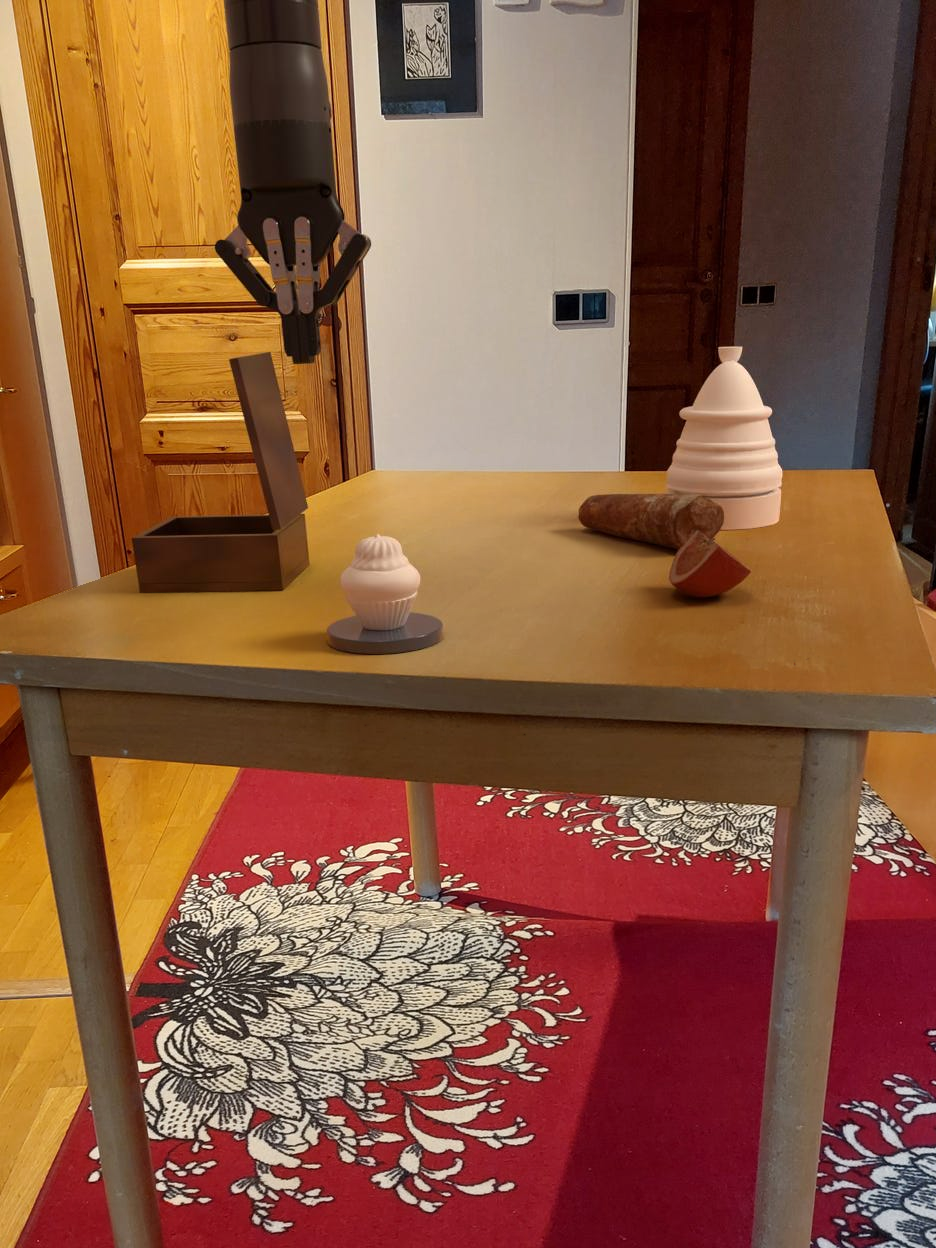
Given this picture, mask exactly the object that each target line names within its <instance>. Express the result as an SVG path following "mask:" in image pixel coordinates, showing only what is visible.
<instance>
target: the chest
mask: <svg viewBox="0 0 936 1248" xmlns="http://www.w3.org/2000/svg"><path fill="white" fill-rule="evenodd" d="M131 545H132V551H133V557H134V565H135V571H136V577H137V582H138V589H139V593H197V592H198V593H200V592H202V593H204V592H205V593H206V592H260V591H259V590H262V591H261V592H263V591H265V590H267V592H268V591H270V592H271V591H284V590H285V589H286V588H287V587H288V586H289V585H290V584H291V583H292V582H293V581H294V580H295V579H296V578H297V577H298V576H299V575H300V574H301V573H303V572H304V571H305V570H306V569H307V567H309V565H310V564H311V563H310V557H309V556H310V552H309V543H308V533H307V522H306V514H305V513H301V514H300V515H298V516H297V517H296V518H295V519H293V520H292V521H291V522H289V523H288V524H287V525H286V526H284V527H283V528H282V529H279V530H274V531H273V530H272V526H271V522H270V518H269V514H268V513H267V514H225V515H224V514H223V515H222V514H221V515H175V516H170V517H168V518H166V519H164V520H162V521H161V522H159V523H156V524H155V525H154V526H151V527H150V528H148V529H146V530H144V531H142V532H140V533H138V534H136V535H135V536H133V537H131ZM265 592H266V591H265Z"/></svg>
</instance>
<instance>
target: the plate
mask: <svg viewBox="0 0 936 1248" xmlns="http://www.w3.org/2000/svg"><path fill="white" fill-rule="evenodd" d="M326 638H327V643H328V645H329V646H330V647H331V648H333V649H335V650H338V651H341V652H346V653H352V654H362V655H388V654H389V655H390V654H401V653H408V652H413V651H418V650H422V649H425V648H429V647H431V646H433V645H435V644H438V643H440V642H441V641H442V639H443V638H444V624H443V621H442V620H441V619H440V618H438V617H436V616H433V615H431V614H425V613H420V612H411V611H410V613H409V615H408V618H407V620H406V622H405V624H404V626H402V627H400V628H397V629H391V630H383V631H382V630H379V631H377V630H369V629H366V628H364V627H363V626H362V624H361V623H360V621H359V619H358V618H357V616H356V615H351V616H348V617H344V618H341V619H338V620H336V621H334V622H332V623H330V624H329V625H328V626H327V628H326Z"/></svg>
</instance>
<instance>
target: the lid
mask: <svg viewBox="0 0 936 1248" xmlns="http://www.w3.org/2000/svg"><path fill="white" fill-rule="evenodd" d="M228 362H229V365H230V370H231V373H232V377H233V381H234V385H235V388H236V389H235V390H236V392H237V396H238V400H239V405H240V408H241V413H242V416H243V420H244V425H245V428H246V431H247V435H248V439H249V443H250V444H249V445H250V447H251V453H252V455H253V459H254V463H255V466H256V471H257V474H258V479H259V482H260V483H259V484H260V486H261V487H260V488H261V491H262V494H263V498H264V502H265V507H266V510H267V514H269V518H270V522H271V526H272V530H273V531H274V530H279V529H282V528H283V527H284V526H286V525H287V524H288V523H289V522H291V521H292V520H293V519H295V518H296V517H297V516H298V515H300V514H303V513H304V512H305V511H307V510H308V509H309V504H308V500H307V496H306V492H305V489H304V485H303V480H302V476H301V472H300V468H299V464H298V460H297V456H296V451H295V447H294V443H293V439H292V435H291V431H290V427H289V423H288V419H287V415H286V410H285V406H284V402H283V398H282V395H281V394H282V393H281V390H280V386H279V383H278V377H277V373H276V369H275V365H274V360H273V356H272V353H271V351H267V352H266V351H265V352H261V353H255V354H249V355H244V356H239V357H234V358H229V359H228Z"/></svg>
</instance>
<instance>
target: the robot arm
mask: <svg viewBox="0 0 936 1248" xmlns="http://www.w3.org/2000/svg"><path fill="white" fill-rule="evenodd" d="M223 8H224V18H225V19H224V20H225V21H224V22H225V28H226V38H227V47H228V49H227V50H228V51H229V52H228V58H229V59H228V61H229V76H228V77H229V79H228V80H229V84H228V85H229V97H230V106H231V116H232V125H233V134H234V143H235V153H236V162H237V171H238V181H239V189H240V190H239V191H240V206H239V210H238V211H237V216H236V219H237V226H235V228H234V229H233V230H232V231H231V232H230V233H229V234H228V235H227V236H226V237H225V238H224V239H219V240H216V242H215V243H214V250H215V254H217V255H218V257H219V258H220V259H221V261H222V262H223V263H224V264H225V265H226V266H227V268H228V269H229V270H230V271H231V272H232V274H233V276H235V277H236V278H237V280H238V281H239V282H240V284H241V285H242V286H243V287H244V288H245V289H246V291H247V292H248V293H249V295H251V298H253V300H255V301H256V303H257V304H258V305H259V306H261V307H265V308H268V309H271V310H274V311H276V312H277V313H278V314H279V316H280V321H281V332H282V341H283V351H284V353H285V355H286V357H290V358H291V360H292V364H293V365H307V364H309V365H310V364H315V362H316V356H320V354H321V351H322V341H321V329H320V319H319V317H320V312H321V311H322V310H323V309H325V308H326V307H328V306H330V305H336V304H338V302H339V301H340V300H341V298H342V296H343V295H344V293H345V291H346V289H347V288H348V286H349V284H350V283H351V281H352V279H353V278H354V276H355V275H356V273H357V271H358V269H359V268H360V266H361V264H362V263H363V261H364V259H365V257H366V256H367V254H368V252H369V251H370V249H371V247H372V240H371V238H370V236H368V235H366V234H364V233H361V232H360V231H358V230H357V229H356V228H354V227H353V226H352V225H351V224H350V223H348V222H347V221H345V220H346V215H345V212H344V209H343V207H342V205H341V204H340V201H339V198H338V195H337V184H336V173H335V171H336V170H335V159H334V146H333V132H332V118H333V117H332V103H331V102H330V95H329V94H330V93H329V85H328V79H327V73H326V68H325V63H324V57H323V56H324V55H323V51H322V48H323V45H322V33H321V21H320V9H319V0H223ZM338 236H339V241H338V245H337V249H338V251H339V253H340V254H341V256H340V257H339V259H338V261H337V262H336V264H335V265H334V268H333V269H332V271H331V272H330V274H329V276H328V278H327V279H326V281H325V283H324V284H323V286H322V287H321V289H320V281H321V264H322V263H323V262H324V261H325V260H326V258H327V255H328V254H329V253H330V251H331V248H333V245H334V243H335V241H336V240H337V238H338ZM248 241H249V242H250V244H251V246H253V248H254V249H255V250H256V252H257V253H258V254H259V256H260V257H261V258H262V260H263V261H264V262H265V263H266V264H267V265H269V267H270V273H271V279H272V283H273V284H274V287H275V290H274V289H273V288H272V286H271V285H270V284H269V283H268V281H267V280H266V279H265V277H263V276H262V274H261V273H260V272H259V270H258V269H257V268H256V267H255V266H254V264H253V263H252V262H251V261H250V257H251V254H252V253H251V248H250V247H249V245H248Z"/></svg>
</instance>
